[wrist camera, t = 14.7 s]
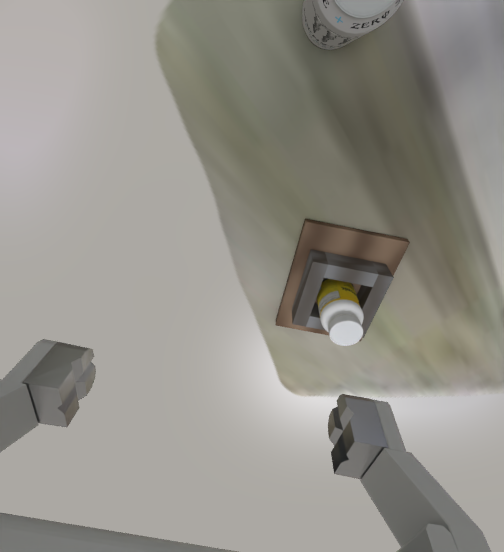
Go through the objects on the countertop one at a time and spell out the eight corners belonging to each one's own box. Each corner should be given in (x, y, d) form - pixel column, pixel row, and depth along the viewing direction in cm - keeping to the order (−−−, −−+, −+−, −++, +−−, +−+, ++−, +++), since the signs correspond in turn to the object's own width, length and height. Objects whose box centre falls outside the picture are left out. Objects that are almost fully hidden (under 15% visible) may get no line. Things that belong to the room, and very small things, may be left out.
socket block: (407, 239, 42) (419, 254, 38) (359, 336, 52) (365, 357, 48) (305, 218, 42) (307, 232, 38) (275, 321, 51) (275, 340, 48)
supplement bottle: (359, 292, 46) (377, 339, 38) (326, 309, 48) (336, 356, 40) (341, 266, 44) (356, 309, 36) (308, 284, 46) (314, 329, 38)
